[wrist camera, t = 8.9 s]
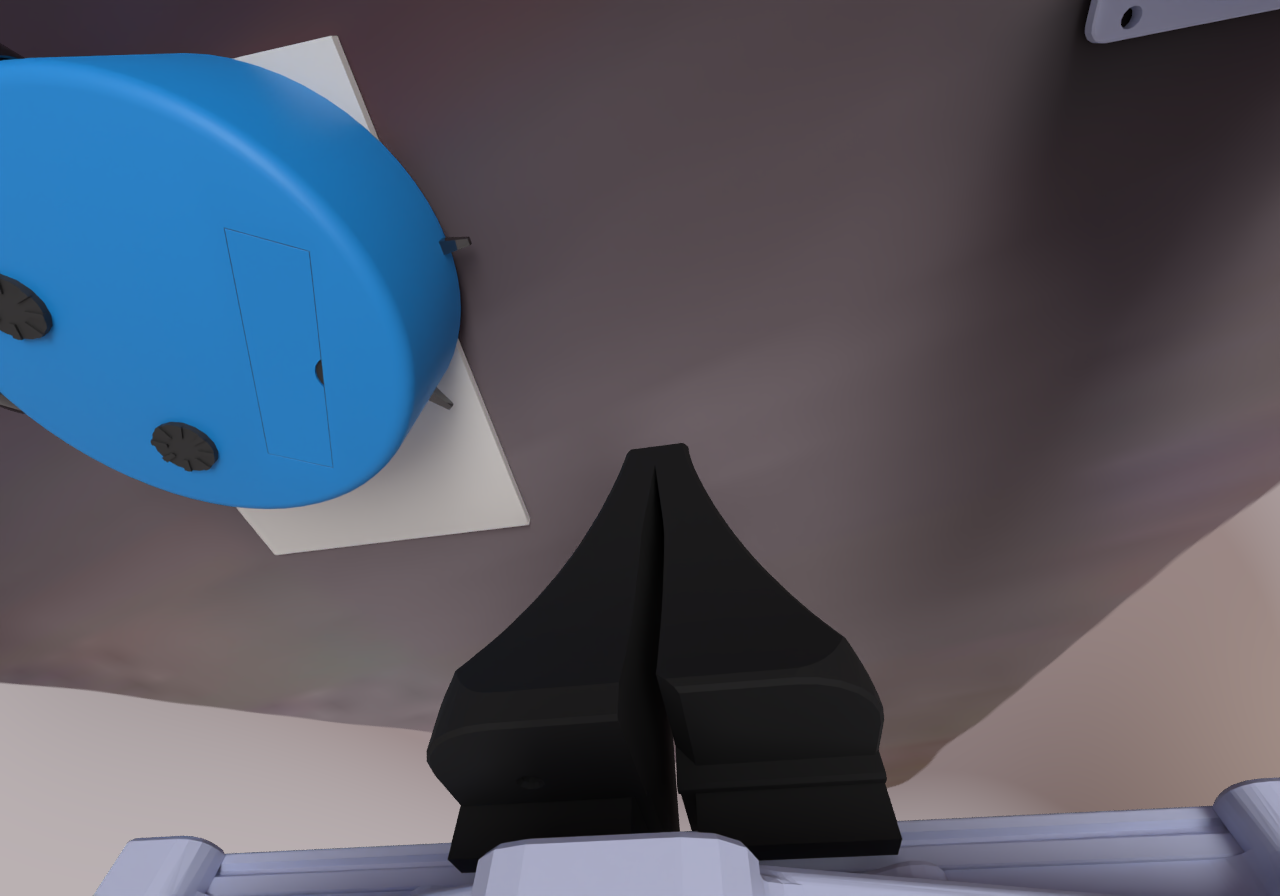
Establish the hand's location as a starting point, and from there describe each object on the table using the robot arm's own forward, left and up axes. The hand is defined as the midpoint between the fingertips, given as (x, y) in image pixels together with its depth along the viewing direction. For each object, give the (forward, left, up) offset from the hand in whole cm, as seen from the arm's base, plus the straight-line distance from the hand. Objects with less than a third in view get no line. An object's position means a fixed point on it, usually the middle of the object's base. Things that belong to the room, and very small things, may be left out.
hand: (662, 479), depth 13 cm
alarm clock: (+7, -1, -7) cm, 10 cm away
